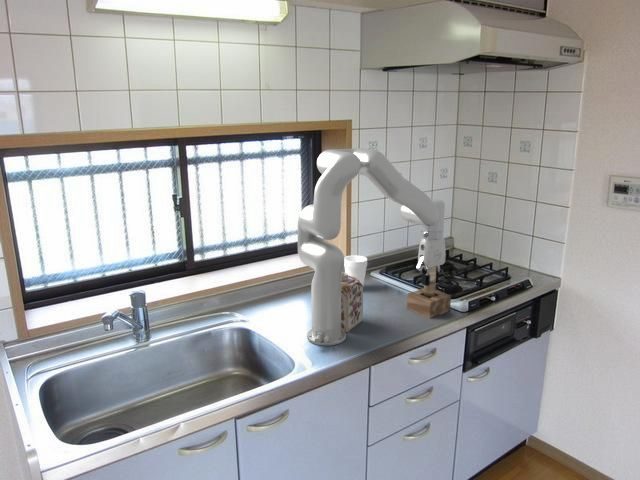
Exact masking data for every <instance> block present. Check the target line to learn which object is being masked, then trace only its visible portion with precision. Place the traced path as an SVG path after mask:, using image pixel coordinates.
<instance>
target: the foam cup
mask: <svg viewBox="0 0 640 480" xmlns="http://www.w3.org/2000/svg"><path fill="white" fill-rule="evenodd" d="M367 266H368V258H367V257H366V256H364V255H357V254H356V255H355V254H354V255H347V256H344V273H347V274H348V276H353V277H355V278H356V279H357V280H359V281H360V283H361V284H362V285H363V287H364V285H365V278H366V271H367Z"/></svg>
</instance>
